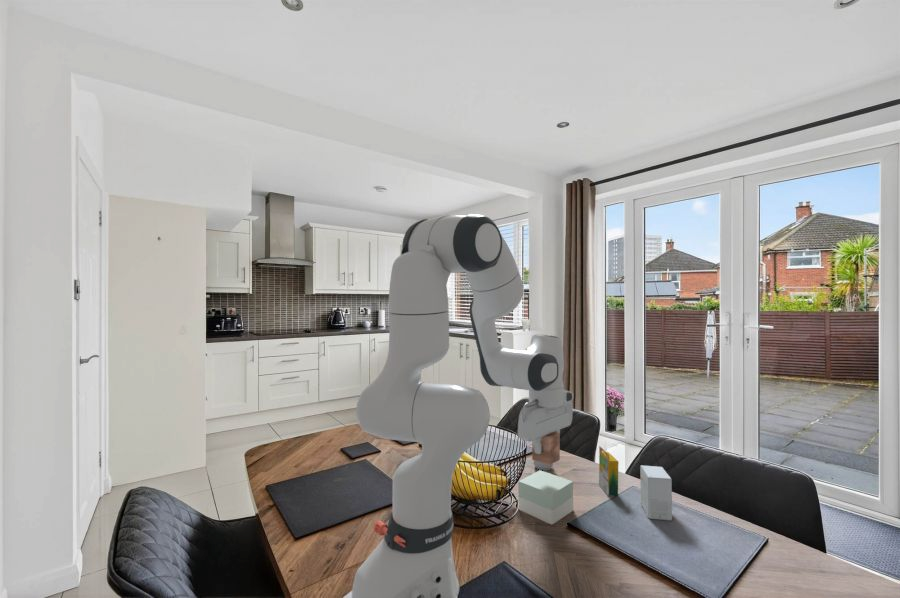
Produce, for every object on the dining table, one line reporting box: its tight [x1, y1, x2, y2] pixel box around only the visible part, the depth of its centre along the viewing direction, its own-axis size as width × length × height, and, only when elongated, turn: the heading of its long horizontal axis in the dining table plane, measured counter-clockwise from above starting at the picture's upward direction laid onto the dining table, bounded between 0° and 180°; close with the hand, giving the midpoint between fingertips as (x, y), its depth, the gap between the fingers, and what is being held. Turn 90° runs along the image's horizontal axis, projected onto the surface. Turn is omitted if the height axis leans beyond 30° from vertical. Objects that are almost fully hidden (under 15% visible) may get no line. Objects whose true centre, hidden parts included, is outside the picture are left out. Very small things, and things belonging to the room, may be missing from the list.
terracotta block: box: [531, 432, 561, 465], centre depth 108 cm, size 5×5×7 cm
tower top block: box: [518, 470, 574, 511], centre depth 108 cm, size 10×10×4 cm
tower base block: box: [518, 496, 574, 526], centre depth 108 cm, size 10×10×4 cm
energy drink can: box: [533, 460, 554, 472], centre depth 135 cm, size 6×6×15 cm
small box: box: [639, 465, 673, 521], centre depth 107 cm, size 8×6×10 cm
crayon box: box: [598, 445, 619, 497], centre depth 120 cm, size 7×3×12 cm, turn 0°
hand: (546, 449), depth 108 cm, fingers closed on terracotta block, 5 cm apart
